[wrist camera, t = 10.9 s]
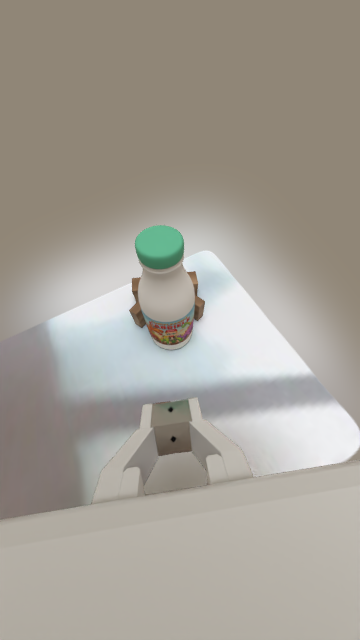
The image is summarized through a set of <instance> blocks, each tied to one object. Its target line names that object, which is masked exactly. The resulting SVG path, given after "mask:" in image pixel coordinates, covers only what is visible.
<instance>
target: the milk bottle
mask: <svg viewBox="0 0 360 640" xmlns="http://www.w3.org/2000/svg"><path fill="white" fill-rule="evenodd" d="M135 248H136V253H137V256H138V258H139V263H140V265H141V266H142V267H143V272H142V276H141V279H140V282H139V286H138V299H139V304H140V307H141V310H142V313H143V316H144V319H145V321H146V324H147V327H148V329H149V332H150V334H151V337H152V339H153V341H154V342H155V343H156V344H157V345H158V346H160V347H161V348H164V349H168V350H174V349H178V348H181V347H183V346H184V345H185V344H186V343H187V342H188V341H189V340H190V338H191V335H192V330H193V320H194V308H195V291H194V286H193V283H192V280H191V278H190V276H189V275H188V273H187V272H186V270H185V269H184V267H183V264H182V262H183V260H184V240H183V237H182V235H181V233H180V232H179V231H178V230H176V229H174V228H172V227H169V226H161V225H160V226H153V227H149V228H147V229H145V230H143V231H142V232H141V233H140V234H139V235H138V236H137V238H136V240H135Z"/></svg>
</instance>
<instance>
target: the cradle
mask: <svg viewBox="0 0 360 640" xmlns="http://www.w3.org/2000/svg"><path fill="white" fill-rule="evenodd" d="M187 273H188V275H189V276H190V278H191V280H192V283H193V286H194V291H195V308H194V319H195V320H197V321H198V320H199V319H200V318H201V317H202V316H203V310H204V305H205V301H204V300H202V299H201V298H199V297H198V296H197V289H198V281H197V277H196V272H195V271H194V272H187ZM140 279H141V277H140V278H133V279H132V292H133V295H134V297H135V300H136V302H137V303H136V304H135V305H134V306H133V307H132V308H131V309H130V310H129V311H130V313H131V315H132V317H133V319H134V321H135V323H136V324H137V325H138V326H140V327H141V328H142V327H143V326H144V325H145V324H146V321H145V319H144V316H143V313H142V310H141V307H140V304H139V299H138V286H139V282H140Z"/></svg>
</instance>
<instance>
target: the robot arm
mask: <svg viewBox="0 0 360 640" xmlns="http://www.w3.org/2000/svg"><path fill="white" fill-rule="evenodd" d="M189 451H192V453H193V454H194V455H195V456H196V458H197V459H198V460H199V462H200V463H201V464H202V466H203V467H204V468H205V470H206V471H207V484H208V485H205V486H199V487H193V488H187V489H181V490H175V491H169V492H163V493H157V494H151V495H145V491H144V485H145V483H146V481H147V479H148V477H149V475H150V473H151V471H152V469H153V467H154V465H155V463H156V461H157V459H158V456H163V455H168V454H173V453H181V452H189ZM0 640H360V460H356V461H349V462H343V463H337V464H331V465H325V466H319V467H313V468H307V469H301V470H295V471H289V472H283V473H277V474H271V475H265V476H259V477H253V474H252V472H251V470H250V467H249V465H248V463H247V460H246V458H245V456H244V453H243V451H242V449H241V448H239V447H238V446H237V445H236V444H235V443H233V442H232V441H231V440H230V439H229V438H227V437H226V436H225V435H224V434H222V433H221V432H220V431H219V430H218V429H216V428H215V427H214V426H213V425H212V424H210V423H209V422H208V421H207V420H203V418H202V414H201V410H200V406H199V402H198V399H197V397H195V398H189V399H183V400H176V401H169V402H160V403H153V404H144V405H143V408H142V414H141V421H140V427H139V429H138V430H136V431H135V432H134V433H133V434H132V436H131V437H130V438H129V439H128V440H127V441H126V443H125V444H124V445H123V446H122V447H121V448H120V450H119V451H118V452H117V453H116V454H115V456H114V457H113V458H112V459H111V460H110V461H109V463H108V464H107V465H106V466H105V467H104V469H103V470H102V471H101V474H100V477H99V480H98V483H97V487H96V490H95V493H94V496H93V500H92V503H91V505H85V506H79V507H73V508H67V509H61V510H55V511H49V512H43V513H37V514H31V515H25V516H19V517H13V518H7V519H1V520H0Z"/></svg>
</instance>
